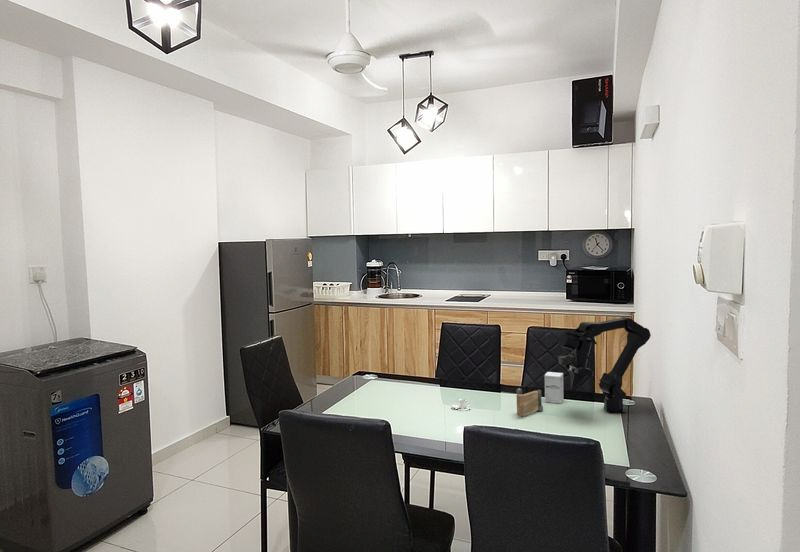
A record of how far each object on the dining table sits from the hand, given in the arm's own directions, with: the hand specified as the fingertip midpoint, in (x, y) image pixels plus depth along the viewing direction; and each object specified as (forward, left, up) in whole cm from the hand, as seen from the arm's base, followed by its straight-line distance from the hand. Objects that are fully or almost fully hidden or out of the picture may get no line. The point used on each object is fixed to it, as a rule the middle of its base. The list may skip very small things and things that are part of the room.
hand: (572, 388), depth 207 cm
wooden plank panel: (+17, -5, -11) cm, 20 cm away
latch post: (+21, -5, -12) cm, 25 cm away
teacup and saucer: (+45, -20, -12) cm, 51 cm away
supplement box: (+1, -21, -12) cm, 24 cm away
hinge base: (+11, -9, -12) cm, 19 cm away
